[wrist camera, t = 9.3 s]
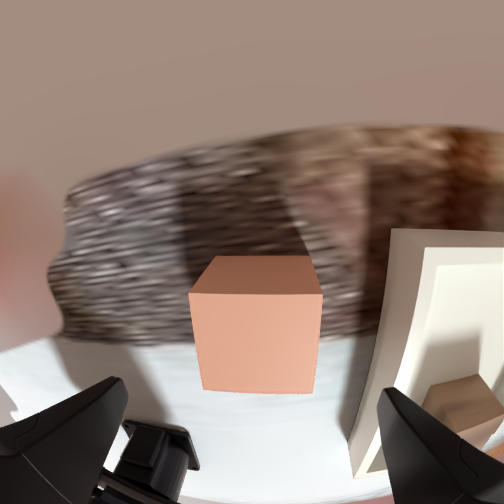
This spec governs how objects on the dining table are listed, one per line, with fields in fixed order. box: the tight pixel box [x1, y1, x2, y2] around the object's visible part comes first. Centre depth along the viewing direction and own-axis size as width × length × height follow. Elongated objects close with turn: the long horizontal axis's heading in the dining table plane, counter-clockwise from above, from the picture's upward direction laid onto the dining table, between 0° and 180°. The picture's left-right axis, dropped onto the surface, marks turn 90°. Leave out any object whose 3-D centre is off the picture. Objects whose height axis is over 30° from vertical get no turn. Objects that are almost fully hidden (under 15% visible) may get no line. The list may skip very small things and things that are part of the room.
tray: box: [347, 228, 504, 479], centre depth 14 cm, size 18×15×4 cm
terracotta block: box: [188, 256, 323, 394], centre depth 13 cm, size 5×5×5 cm
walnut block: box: [421, 373, 504, 450], centre depth 13 cm, size 5×5×5 cm
